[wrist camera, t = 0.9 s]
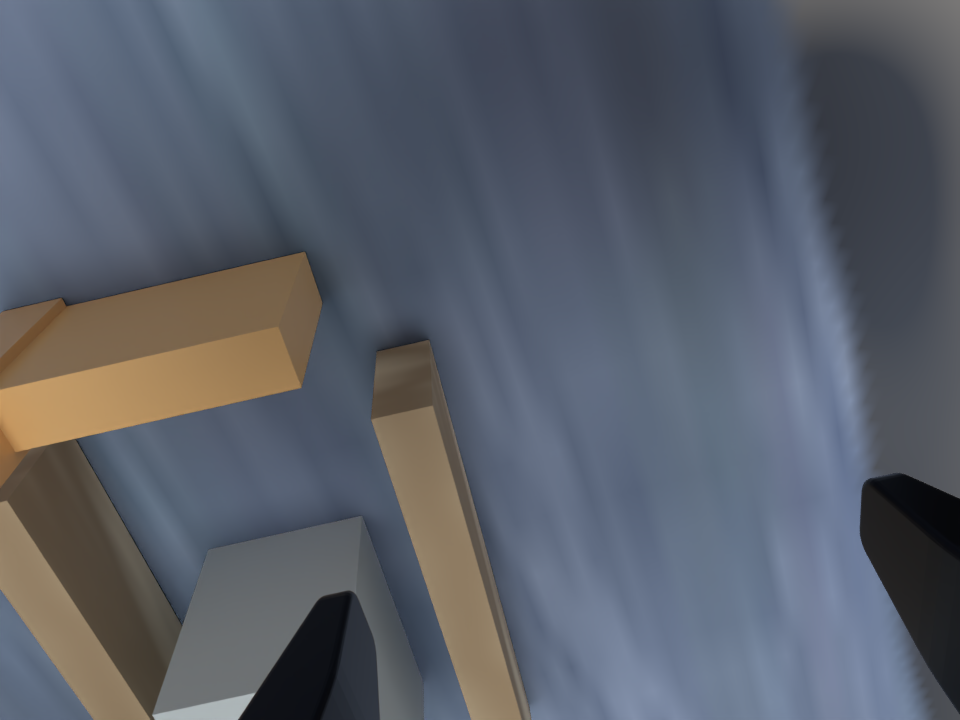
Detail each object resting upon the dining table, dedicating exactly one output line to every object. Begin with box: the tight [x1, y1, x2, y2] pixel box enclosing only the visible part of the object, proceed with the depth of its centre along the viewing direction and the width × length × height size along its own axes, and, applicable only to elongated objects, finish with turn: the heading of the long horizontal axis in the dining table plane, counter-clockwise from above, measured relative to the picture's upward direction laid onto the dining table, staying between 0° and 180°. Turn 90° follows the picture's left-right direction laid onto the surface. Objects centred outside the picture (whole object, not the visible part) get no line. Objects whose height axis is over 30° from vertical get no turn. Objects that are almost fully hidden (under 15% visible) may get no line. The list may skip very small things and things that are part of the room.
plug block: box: [152, 516, 424, 720], centre depth 23 cm, size 5×8×6 cm, turn 12°
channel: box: [0, 340, 531, 720], centre depth 23 cm, size 12×16×4 cm
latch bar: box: [0, 252, 323, 488], centre depth 17 cm, size 8×2×6 cm, turn 102°
